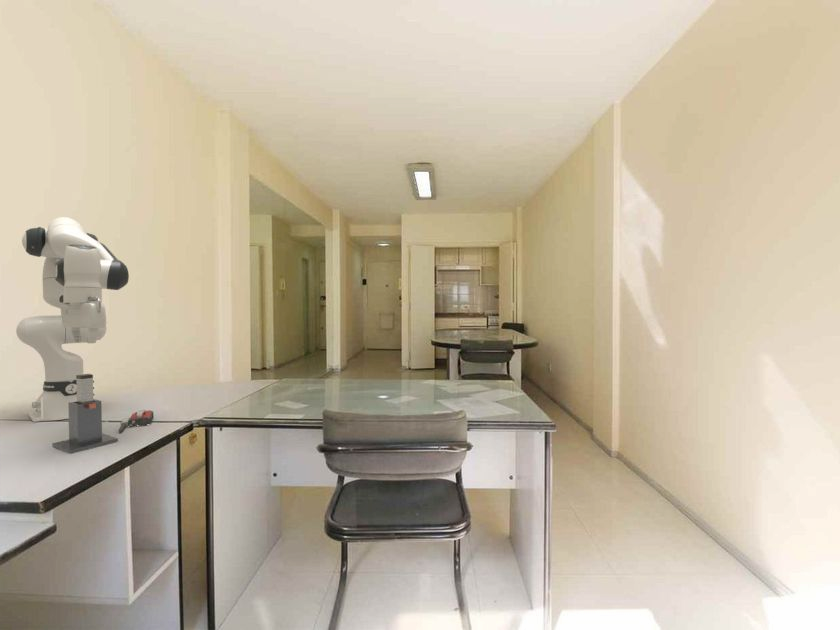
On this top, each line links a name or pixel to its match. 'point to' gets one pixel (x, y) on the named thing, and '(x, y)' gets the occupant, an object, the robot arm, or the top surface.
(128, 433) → the top surface
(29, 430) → the top surface
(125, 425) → the walkie-talkie
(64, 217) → the robot arm
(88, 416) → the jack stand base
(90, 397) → the column
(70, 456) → the top surface
